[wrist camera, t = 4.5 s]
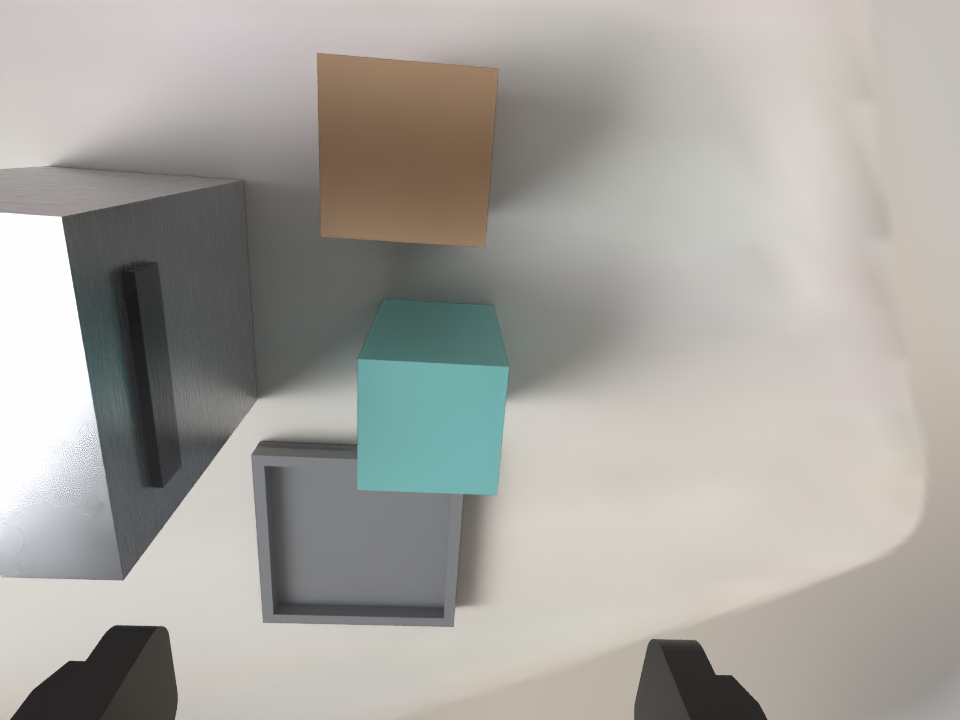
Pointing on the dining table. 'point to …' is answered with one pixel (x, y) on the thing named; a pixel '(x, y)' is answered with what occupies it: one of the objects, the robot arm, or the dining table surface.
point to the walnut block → (405, 150)
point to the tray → (350, 543)
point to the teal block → (431, 399)
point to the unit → (114, 358)
